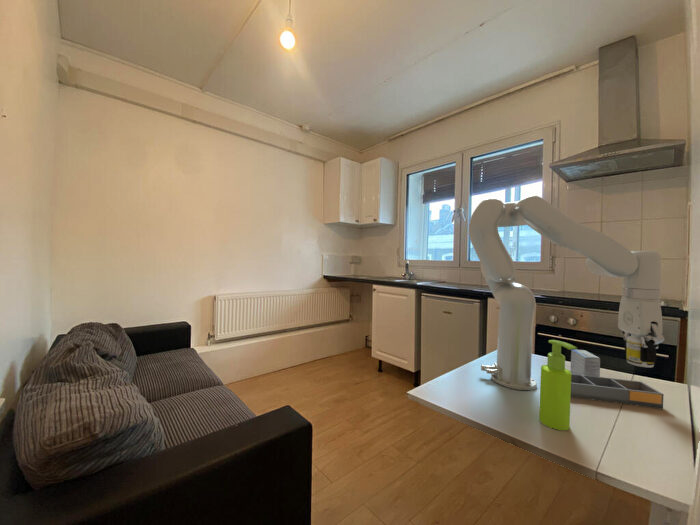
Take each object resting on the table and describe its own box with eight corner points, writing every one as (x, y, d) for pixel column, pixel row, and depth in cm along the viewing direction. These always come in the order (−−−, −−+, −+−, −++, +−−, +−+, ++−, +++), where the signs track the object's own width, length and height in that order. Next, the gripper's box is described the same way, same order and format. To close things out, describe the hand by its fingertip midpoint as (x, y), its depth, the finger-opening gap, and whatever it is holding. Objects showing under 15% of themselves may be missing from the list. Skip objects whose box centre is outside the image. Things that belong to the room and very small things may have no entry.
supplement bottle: (649, 363, 80) (649, 329, 80) (657, 369, 75) (658, 333, 75) (623, 359, 83) (624, 326, 83) (630, 365, 78) (630, 330, 78)
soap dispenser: (561, 435, 62) (564, 347, 62) (533, 418, 69) (536, 338, 69) (580, 431, 64) (583, 345, 64) (551, 414, 71) (554, 336, 70)
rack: (564, 396, 80) (564, 382, 80) (551, 384, 88) (552, 371, 88) (663, 409, 74) (664, 394, 74) (640, 394, 82) (641, 381, 82)
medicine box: (600, 385, 89) (601, 358, 88) (584, 383, 89) (585, 356, 89) (584, 374, 96) (585, 350, 96) (569, 373, 97) (570, 348, 97)
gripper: (605, 290, 88) (605, 347, 88) (647, 298, 72) (646, 368, 72) (634, 291, 86) (634, 349, 86) (684, 299, 70) (683, 371, 70)
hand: (639, 357), depth 79 cm, fingers closed on supplement bottle, 5 cm apart
